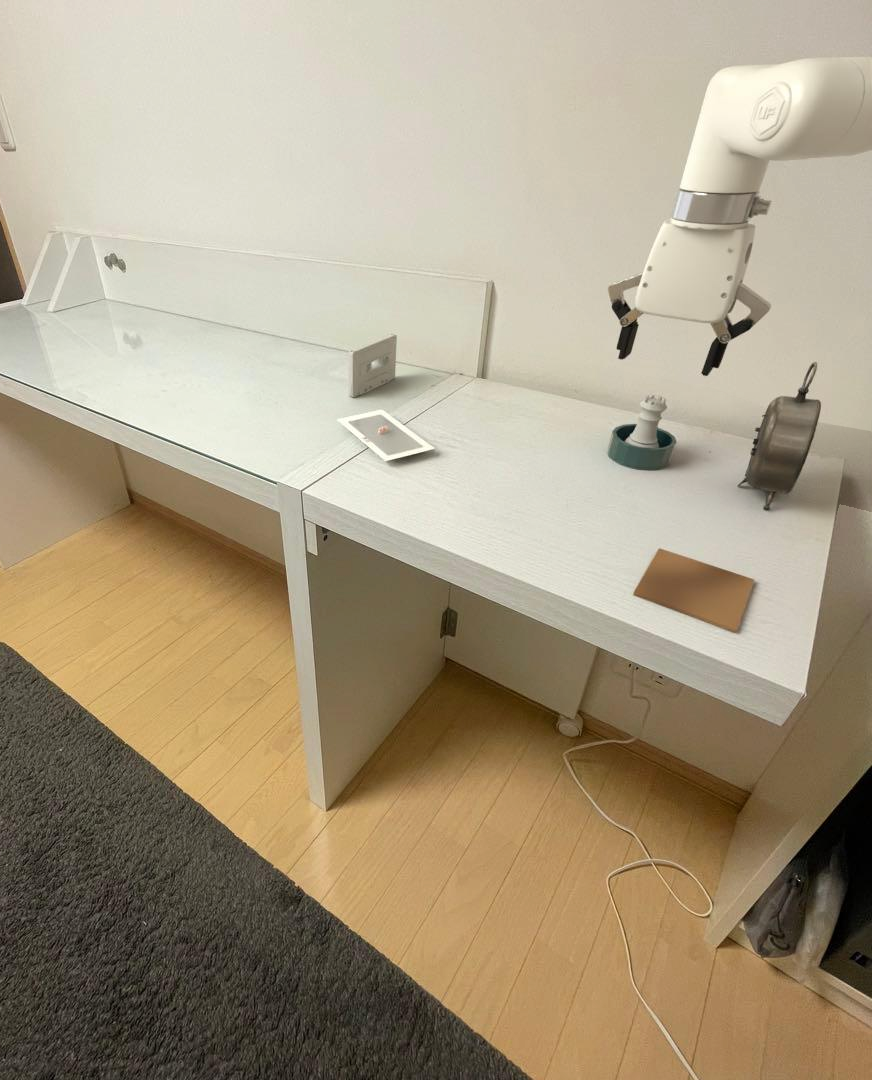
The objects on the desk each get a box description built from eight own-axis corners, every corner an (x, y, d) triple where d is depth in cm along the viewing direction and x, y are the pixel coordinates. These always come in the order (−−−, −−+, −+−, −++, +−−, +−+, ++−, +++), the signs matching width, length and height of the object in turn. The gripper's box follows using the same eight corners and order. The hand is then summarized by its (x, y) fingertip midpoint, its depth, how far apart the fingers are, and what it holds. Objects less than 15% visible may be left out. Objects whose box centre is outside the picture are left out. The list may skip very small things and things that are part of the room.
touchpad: (381, 416, 96) (382, 403, 94) (434, 455, 84) (435, 441, 83) (336, 426, 93) (336, 412, 92) (385, 468, 82) (385, 453, 81)
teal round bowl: (676, 453, 84) (682, 433, 82) (660, 476, 79) (667, 455, 77) (617, 438, 88) (622, 419, 86) (599, 459, 83) (604, 439, 81)
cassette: (354, 399, 101) (354, 353, 97) (346, 396, 102) (345, 350, 98) (397, 378, 109) (399, 334, 104) (389, 376, 110) (390, 332, 105)
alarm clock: (781, 519, 70) (847, 383, 61) (728, 506, 72) (783, 373, 63) (785, 478, 77) (844, 351, 68) (737, 468, 80) (787, 344, 70)
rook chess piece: (637, 444, 85) (653, 389, 81) (664, 457, 82) (682, 401, 77) (613, 451, 84) (628, 396, 79) (640, 464, 80) (657, 408, 76)
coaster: (753, 582, 61) (754, 579, 61) (735, 633, 55) (737, 630, 55) (658, 550, 66) (659, 547, 65) (632, 594, 60) (634, 591, 60)
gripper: (811, 210, 64) (748, 369, 74) (638, 199, 73) (603, 343, 83) (802, 221, 59) (736, 389, 69) (618, 208, 68) (584, 359, 78)
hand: (664, 364), depth 76 cm, fingers open, 9 cm apart
